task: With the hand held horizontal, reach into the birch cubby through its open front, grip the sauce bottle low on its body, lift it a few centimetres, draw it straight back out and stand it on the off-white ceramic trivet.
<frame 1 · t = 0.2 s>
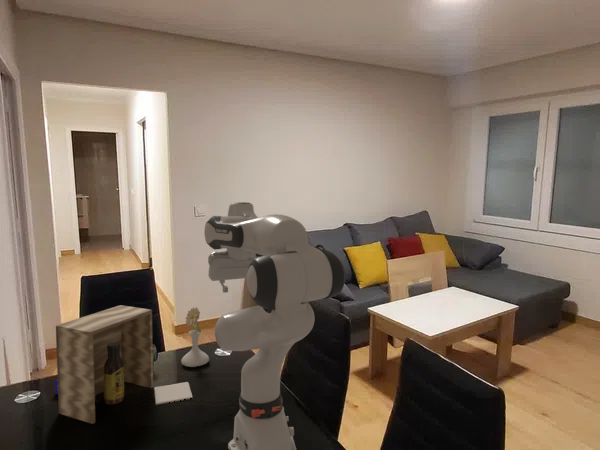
hand: (239, 290, 135), 39 cm above the table, tool pointing down, fingers open, 8 cm apart
trivet: (172, 393, 143), on the table
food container: (144, 369, 163), on the table
cubby: (110, 399, 138), on the table
die: (67, 392, 144), on the table
sauce bottle: (114, 401, 138), on the table
flower in vase: (195, 365, 168), on the table
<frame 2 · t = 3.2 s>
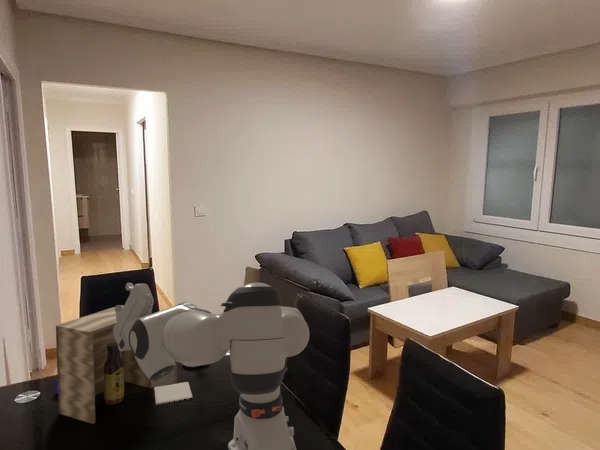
hand: (122, 295, 123), 40 cm above the table, tool pointing upward, fingers open, 8 cm apart
nothing on the table moved.
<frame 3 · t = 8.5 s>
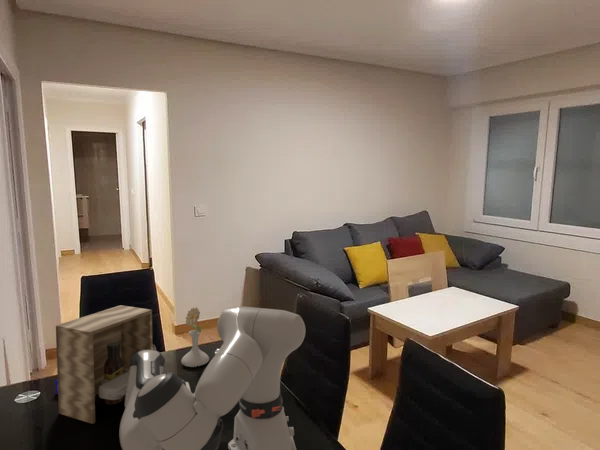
hand: (111, 376, 137), 9 cm above the table, tool horizontal, fingers closed on sauce bottle, 6 cm apart
sauce bottle: (114, 401, 138), on the table, touching gripper
everything else where it was.
when the fingers open (10 cm above the table, at t = 17.2 s): sauce bottle moves 2 cm, resting on trivet.
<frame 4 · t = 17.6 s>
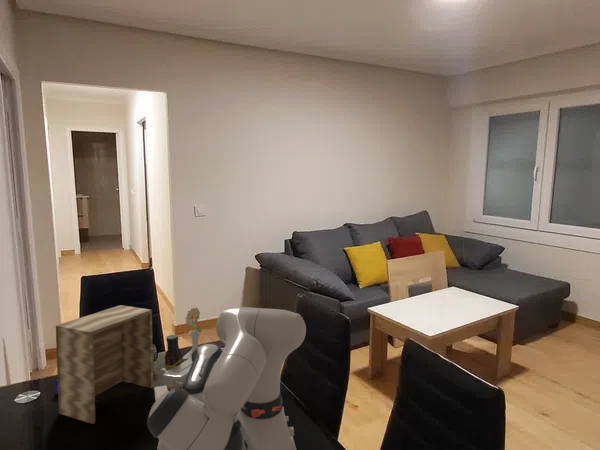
hand: (170, 365, 143), 10 cm above the table, tool horizontal, fingers open, 8 cm apart
sauce bottle: (176, 389, 145), point 1 cm above the table, touching gripper, trivet
everything else where it was.
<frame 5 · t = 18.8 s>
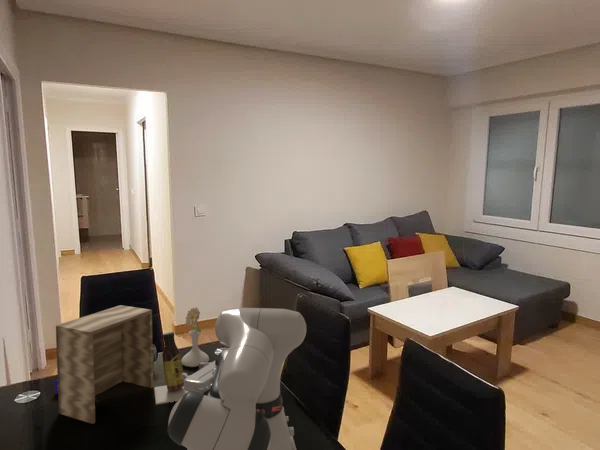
hand: (190, 370, 140), 10 cm above the table, tool horizontal, fingers open, 8 cm apart
sauce bottle: (176, 388, 145), point 1 cm above the table, touching trivet
everything else where it was.
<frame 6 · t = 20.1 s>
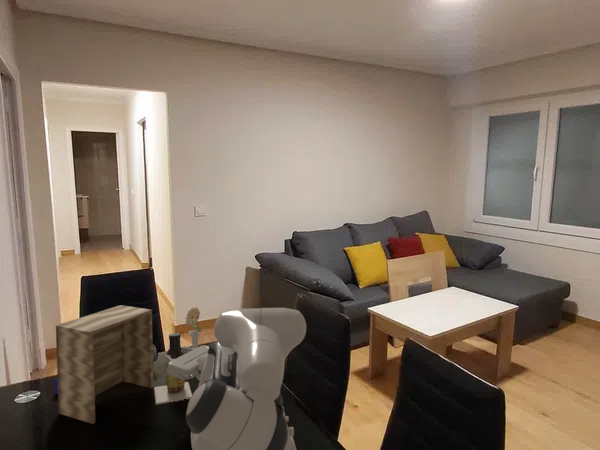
hand: (173, 352, 135), 18 cm above the table, tool horizontal, fingers open, 8 cm apart
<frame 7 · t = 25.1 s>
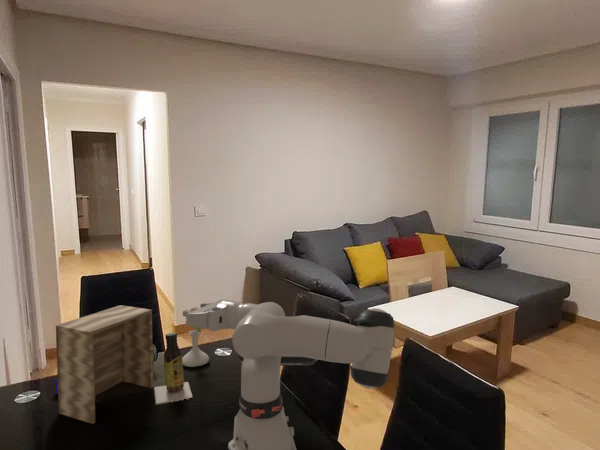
hand: (193, 309, 136), 32 cm above the table, tool horizontal, fingers open, 8 cm apart
at the end: sauce bottle inside the target area on the trivet (1.8 cm from its centre), point 0.6 cm above the trivet's base; sauce bottle tilted 4°; the gripper is holding nothing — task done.
